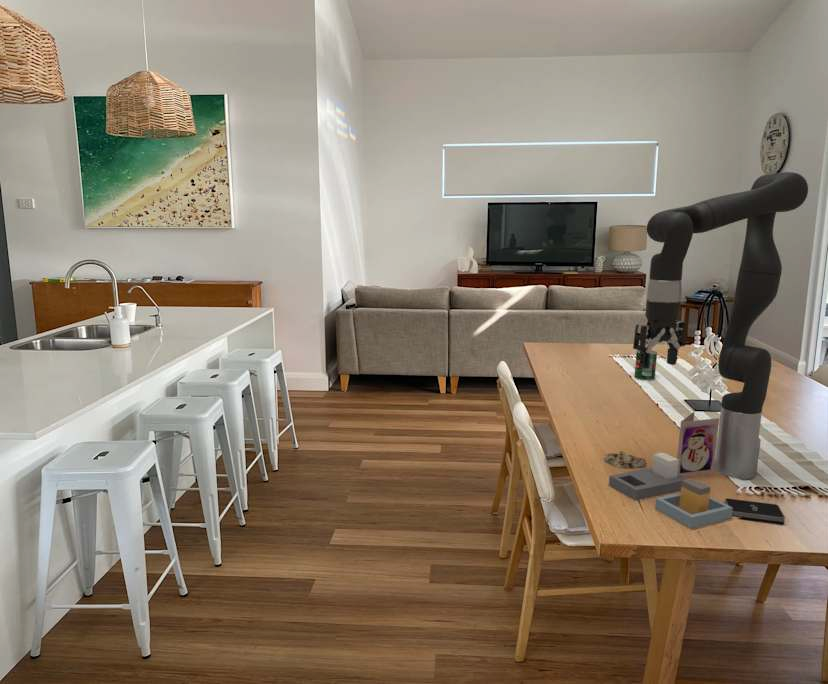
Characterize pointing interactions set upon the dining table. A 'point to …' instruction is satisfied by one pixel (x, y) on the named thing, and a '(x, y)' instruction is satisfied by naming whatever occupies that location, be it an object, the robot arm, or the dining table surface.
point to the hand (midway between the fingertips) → (658, 365)
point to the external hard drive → (756, 511)
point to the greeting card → (697, 446)
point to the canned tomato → (648, 372)
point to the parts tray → (713, 515)
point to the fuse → (665, 466)
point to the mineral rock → (624, 460)
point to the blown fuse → (694, 496)
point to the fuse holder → (644, 484)
